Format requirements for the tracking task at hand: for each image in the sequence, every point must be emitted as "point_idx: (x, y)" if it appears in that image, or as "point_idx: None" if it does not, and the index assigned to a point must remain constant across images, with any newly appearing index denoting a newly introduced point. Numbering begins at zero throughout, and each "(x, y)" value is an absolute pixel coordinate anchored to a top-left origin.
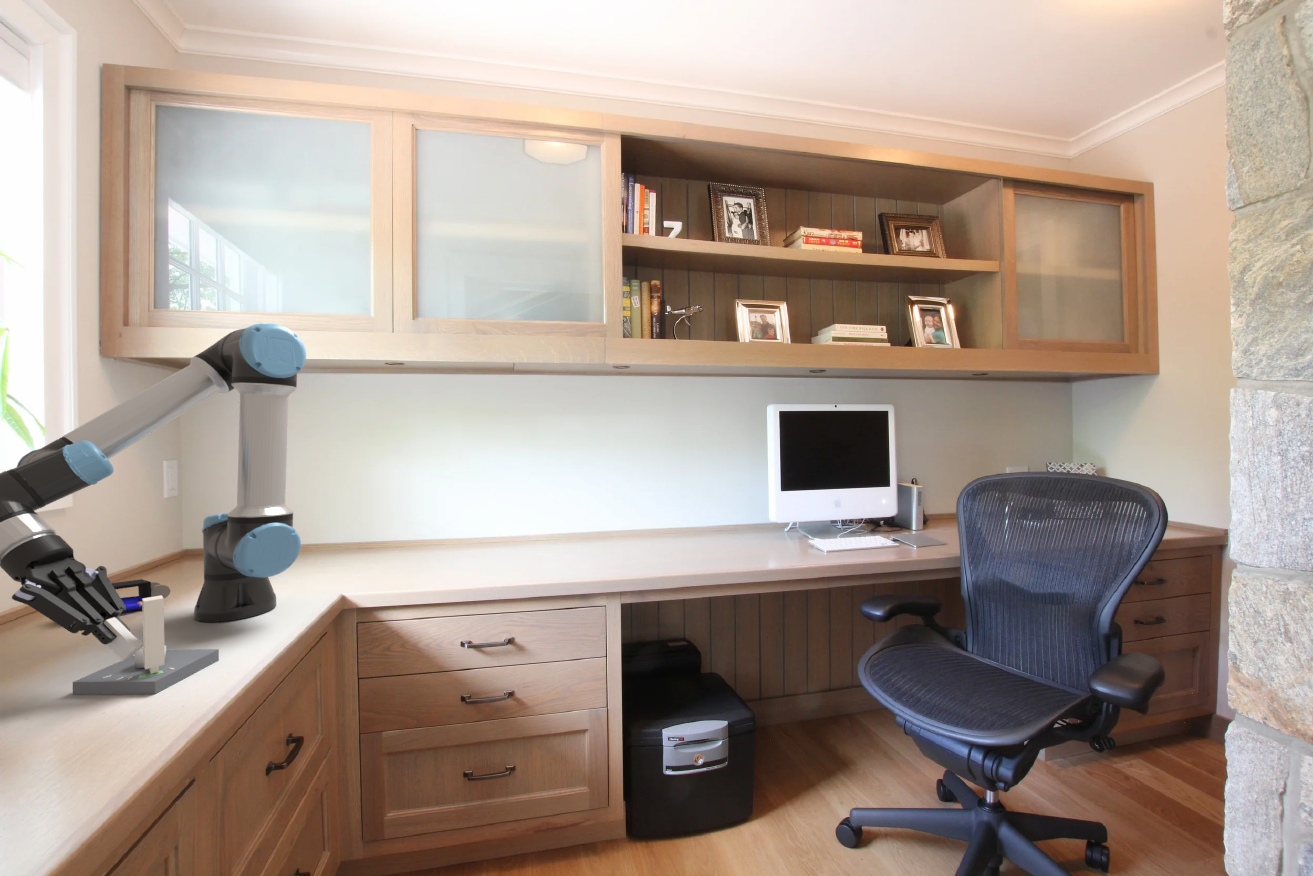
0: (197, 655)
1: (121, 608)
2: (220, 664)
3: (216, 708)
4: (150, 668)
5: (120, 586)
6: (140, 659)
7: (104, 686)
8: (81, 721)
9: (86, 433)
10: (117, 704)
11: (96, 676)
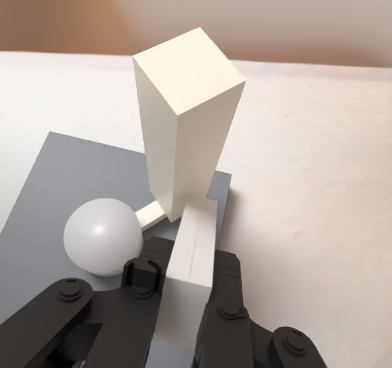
0: (79, 160)
1: (82, 288)
2: (89, 133)
3: (300, 67)
4: None
5: None
6: (140, 243)
7: None
8: (329, 254)
9: None
10: (262, 232)
11: (163, 344)
